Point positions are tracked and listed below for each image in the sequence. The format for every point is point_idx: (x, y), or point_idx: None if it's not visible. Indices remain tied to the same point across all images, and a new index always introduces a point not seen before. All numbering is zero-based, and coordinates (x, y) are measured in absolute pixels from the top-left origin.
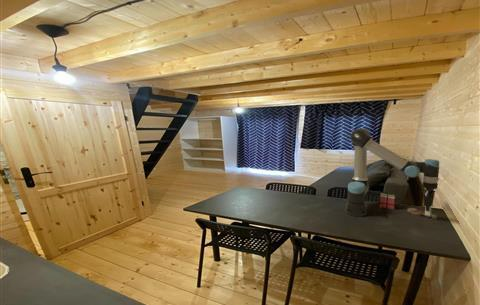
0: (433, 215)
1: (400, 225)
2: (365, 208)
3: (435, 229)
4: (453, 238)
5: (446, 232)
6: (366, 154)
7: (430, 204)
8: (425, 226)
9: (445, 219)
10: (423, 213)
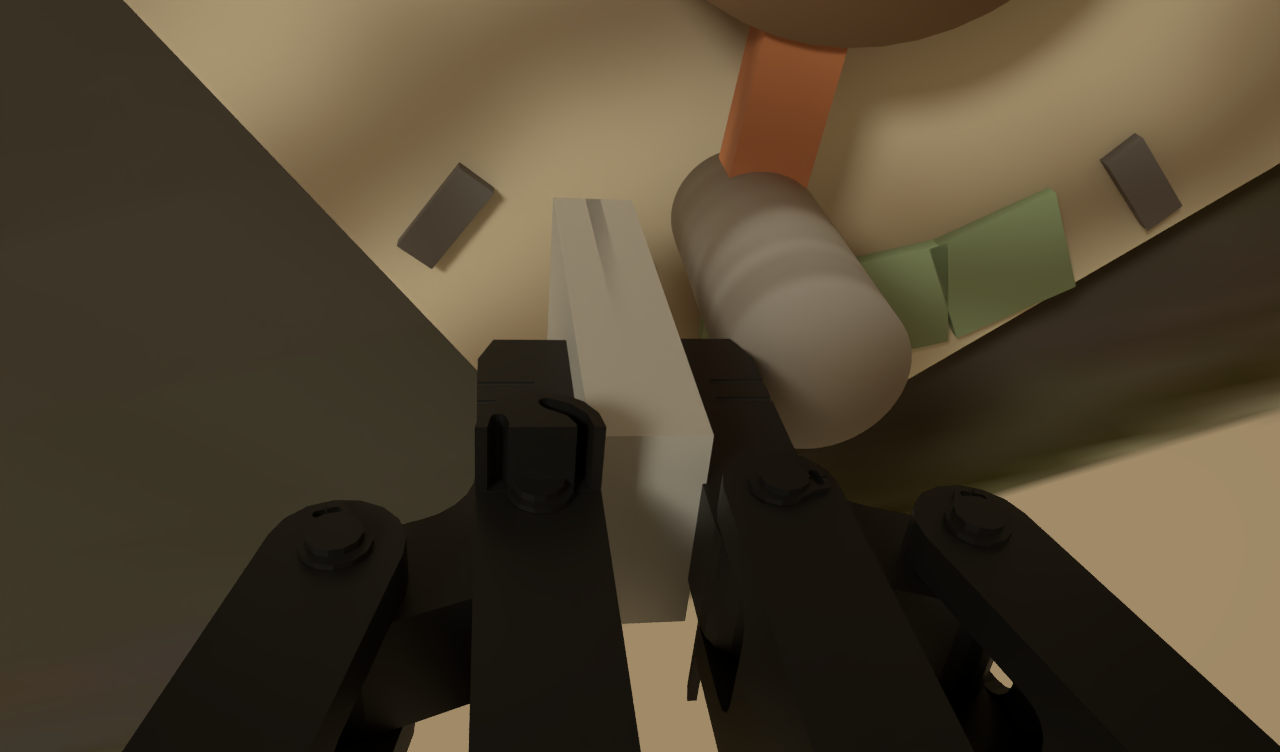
0: (1006, 258)
1: None
2: None
3: (111, 471)
4: (4, 741)
5: (182, 623)
6: None
7: (706, 680)
8: (46, 277)
9: (1011, 437)
10: (772, 82)
